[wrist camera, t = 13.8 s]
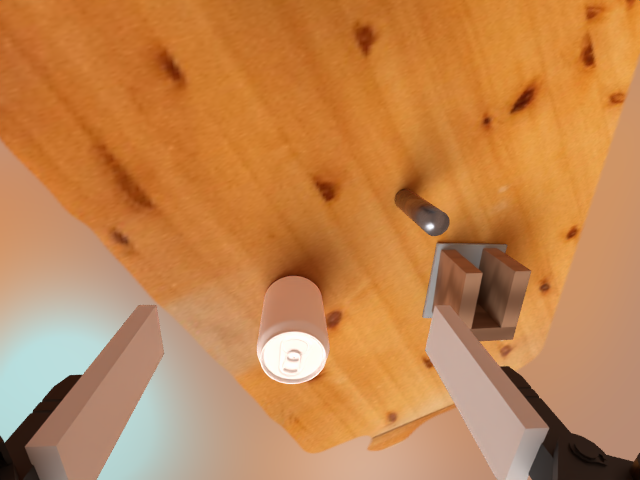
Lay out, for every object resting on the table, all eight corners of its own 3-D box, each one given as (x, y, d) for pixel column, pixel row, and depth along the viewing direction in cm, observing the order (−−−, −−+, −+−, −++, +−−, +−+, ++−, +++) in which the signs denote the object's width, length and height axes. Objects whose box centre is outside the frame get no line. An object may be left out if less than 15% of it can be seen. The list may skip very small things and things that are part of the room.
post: (396, 188, 41) (426, 211, 32) (415, 189, 41) (451, 211, 32) (393, 208, 42) (422, 235, 32) (412, 209, 42) (446, 236, 33)
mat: (437, 242, 44) (438, 243, 44) (505, 244, 45) (507, 245, 45) (422, 316, 48) (423, 317, 48) (485, 316, 49) (486, 317, 49)
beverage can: (327, 278, 45) (338, 333, 34) (315, 326, 48) (321, 391, 36) (269, 269, 44) (261, 322, 32) (260, 318, 46) (250, 383, 35)
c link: (483, 309, 48) (512, 339, 42) (431, 311, 48) (453, 342, 41) (496, 247, 45) (531, 270, 38) (440, 249, 44) (466, 273, 38)
